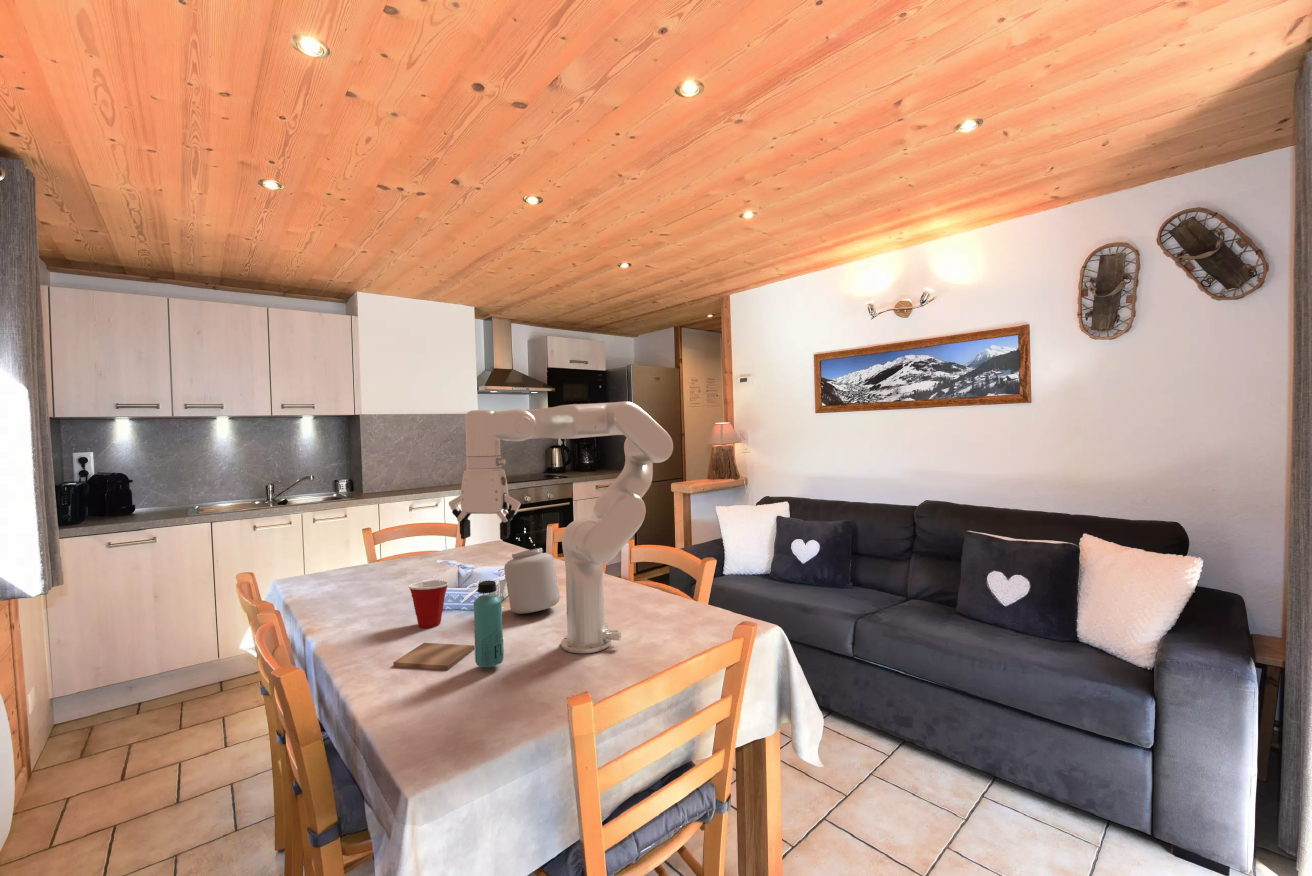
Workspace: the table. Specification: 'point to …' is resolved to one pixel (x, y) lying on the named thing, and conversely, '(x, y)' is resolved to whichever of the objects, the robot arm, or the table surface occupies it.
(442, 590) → the plastic cup
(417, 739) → the table surface
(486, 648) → the beverage bottle
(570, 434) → the robot arm
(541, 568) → the jar
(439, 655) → the walnut board
